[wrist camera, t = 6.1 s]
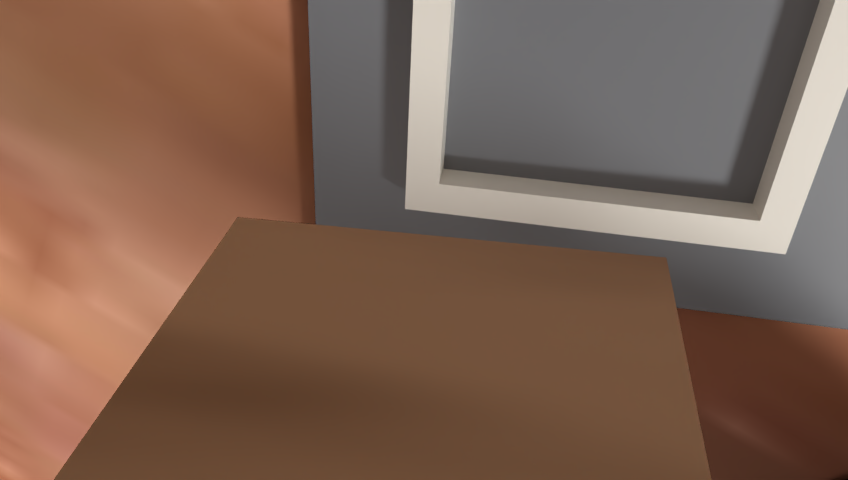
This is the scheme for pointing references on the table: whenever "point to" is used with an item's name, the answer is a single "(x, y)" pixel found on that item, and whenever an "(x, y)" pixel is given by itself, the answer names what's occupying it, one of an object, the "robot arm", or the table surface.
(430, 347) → the walnut block
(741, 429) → the table surface
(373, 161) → the square panel
